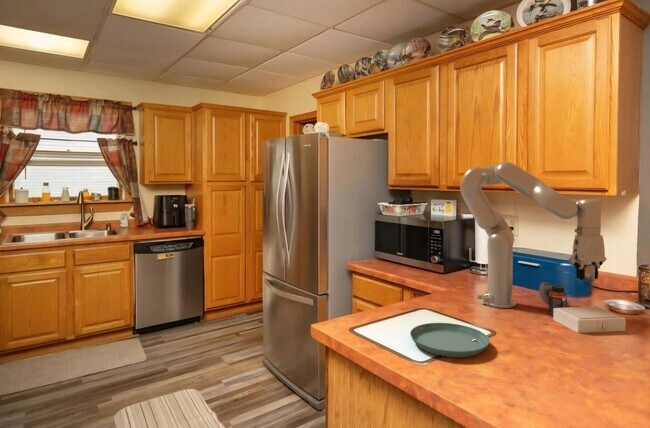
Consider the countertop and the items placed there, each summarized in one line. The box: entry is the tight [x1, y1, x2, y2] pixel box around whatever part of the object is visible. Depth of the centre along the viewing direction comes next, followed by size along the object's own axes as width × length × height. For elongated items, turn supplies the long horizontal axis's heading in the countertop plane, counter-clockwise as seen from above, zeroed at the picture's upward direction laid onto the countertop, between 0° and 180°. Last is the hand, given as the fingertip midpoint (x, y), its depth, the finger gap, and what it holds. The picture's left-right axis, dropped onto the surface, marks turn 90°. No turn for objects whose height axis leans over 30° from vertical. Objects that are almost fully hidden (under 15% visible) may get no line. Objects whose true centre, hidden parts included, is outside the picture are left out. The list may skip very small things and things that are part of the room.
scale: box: [552, 306, 627, 334], centre depth 139 cm, size 17×13×5 cm
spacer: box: [578, 262, 596, 282], centre depth 148 cm, size 5×5×6 cm
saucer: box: [410, 322, 490, 358], centre depth 124 cm, size 24×24×3 cm
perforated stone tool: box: [538, 281, 553, 305], centre depth 167 cm, size 15×5×7 cm, turn 158°
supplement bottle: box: [548, 284, 568, 316], centre depth 150 cm, size 6×6×11 cm
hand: (587, 278), depth 148 cm, fingers closed on spacer, 5 cm apart
